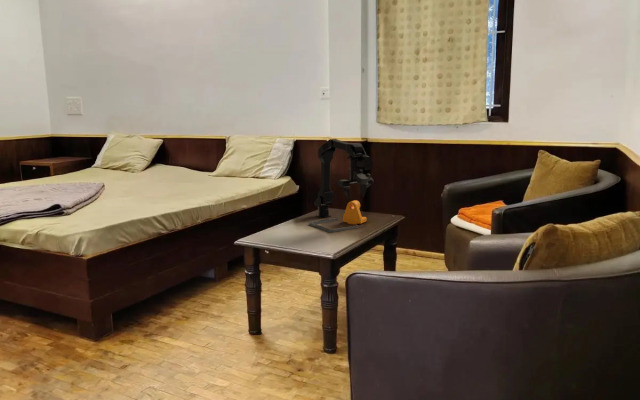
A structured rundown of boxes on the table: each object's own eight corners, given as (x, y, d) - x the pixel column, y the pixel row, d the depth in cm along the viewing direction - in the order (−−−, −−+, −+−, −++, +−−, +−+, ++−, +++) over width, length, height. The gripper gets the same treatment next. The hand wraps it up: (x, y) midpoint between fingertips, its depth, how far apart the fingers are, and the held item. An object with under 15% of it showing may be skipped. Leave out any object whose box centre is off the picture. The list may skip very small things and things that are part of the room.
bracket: (367, 222, 272) (367, 200, 270) (360, 225, 266) (360, 202, 264) (349, 220, 278) (349, 198, 276) (342, 222, 272) (342, 200, 270)
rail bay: (308, 224, 270) (308, 222, 270) (336, 220, 279) (336, 217, 278) (330, 232, 252) (329, 230, 252) (358, 227, 261) (358, 225, 261)
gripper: (348, 171, 248) (349, 202, 251) (379, 168, 257) (379, 198, 260) (336, 169, 258) (337, 199, 261) (366, 166, 267) (367, 195, 270)
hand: (355, 198), depth 263 cm, fingers open, 9 cm apart
